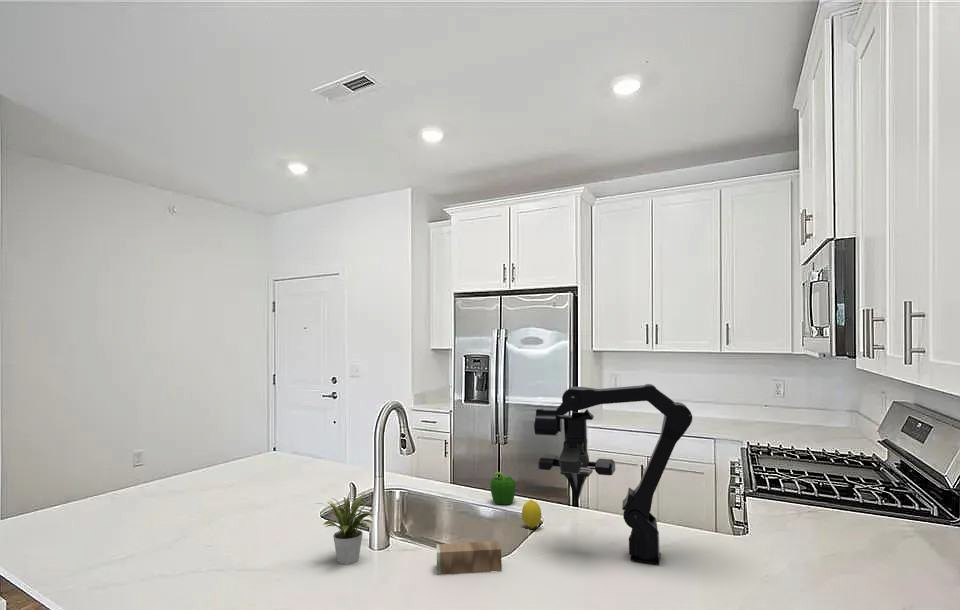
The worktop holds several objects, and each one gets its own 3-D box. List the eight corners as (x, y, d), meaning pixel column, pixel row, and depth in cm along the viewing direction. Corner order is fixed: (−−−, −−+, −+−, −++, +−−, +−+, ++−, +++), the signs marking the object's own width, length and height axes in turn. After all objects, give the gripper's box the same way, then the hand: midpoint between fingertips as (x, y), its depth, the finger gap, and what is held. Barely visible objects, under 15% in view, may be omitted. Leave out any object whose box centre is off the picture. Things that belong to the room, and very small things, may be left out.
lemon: (540, 532, 143) (540, 503, 144) (521, 531, 144) (520, 502, 145) (542, 525, 148) (541, 497, 149) (523, 524, 150) (522, 496, 150)
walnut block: (498, 540, 125) (436, 544, 123) (501, 549, 120) (436, 552, 119) (498, 562, 125) (436, 565, 123) (501, 571, 120) (436, 575, 118)
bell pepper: (519, 500, 173) (518, 469, 173) (512, 507, 165) (511, 476, 166) (495, 498, 175) (494, 468, 176) (487, 505, 168) (487, 474, 168)
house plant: (318, 579, 117) (319, 506, 118) (308, 557, 129) (309, 490, 130) (380, 566, 123) (379, 496, 124) (364, 546, 135) (364, 482, 137)
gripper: (530, 439, 128) (532, 504, 127) (606, 444, 121) (608, 513, 120) (543, 432, 138) (545, 491, 137) (614, 436, 131) (616, 499, 130)
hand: (577, 498), depth 131 cm, fingers closed
